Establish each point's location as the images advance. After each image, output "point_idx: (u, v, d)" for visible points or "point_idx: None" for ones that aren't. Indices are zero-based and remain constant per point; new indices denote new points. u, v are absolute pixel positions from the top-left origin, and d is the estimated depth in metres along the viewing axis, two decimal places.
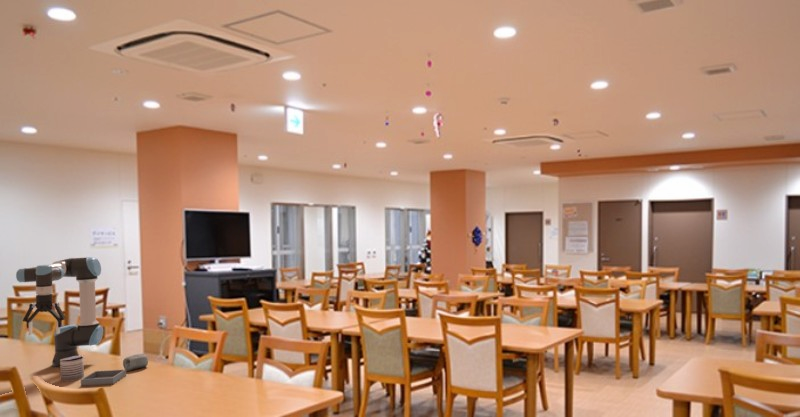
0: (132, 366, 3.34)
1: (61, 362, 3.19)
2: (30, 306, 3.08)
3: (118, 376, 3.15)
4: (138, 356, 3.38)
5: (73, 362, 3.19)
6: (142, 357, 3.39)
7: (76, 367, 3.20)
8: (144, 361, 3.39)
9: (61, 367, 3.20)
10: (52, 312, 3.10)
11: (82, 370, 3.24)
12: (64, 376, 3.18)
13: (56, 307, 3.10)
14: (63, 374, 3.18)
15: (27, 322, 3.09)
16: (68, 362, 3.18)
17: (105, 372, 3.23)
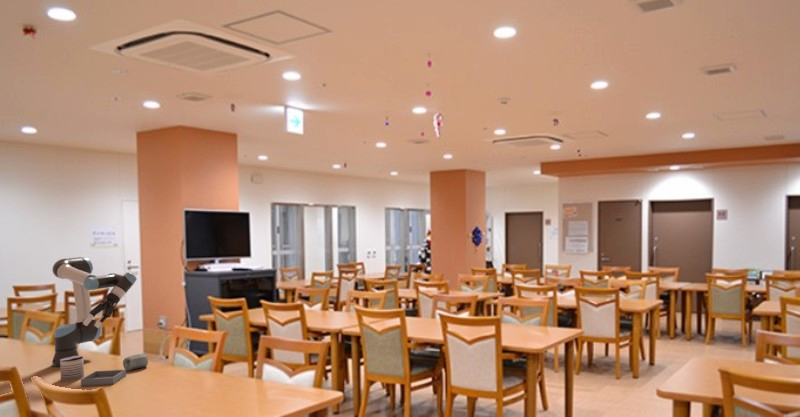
0: (132, 366, 3.34)
1: (61, 362, 3.19)
2: None
3: (118, 376, 3.15)
4: (138, 356, 3.38)
5: (73, 362, 3.19)
6: (142, 357, 3.39)
7: (76, 367, 3.20)
8: (144, 361, 3.39)
9: (61, 366, 3.20)
10: (101, 309, 3.42)
11: (82, 370, 3.24)
12: (64, 376, 3.18)
13: None
14: (63, 374, 3.18)
15: None
16: (68, 362, 3.18)
17: (105, 372, 3.23)
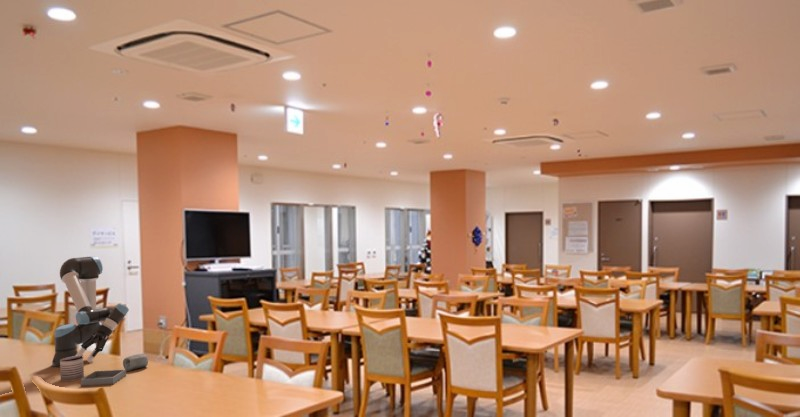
0: (132, 366, 3.34)
1: (61, 362, 3.19)
2: None
3: (118, 376, 3.15)
4: (138, 356, 3.38)
5: (73, 362, 3.19)
6: (142, 357, 3.39)
7: (76, 367, 3.20)
8: (144, 361, 3.39)
9: (60, 366, 3.20)
10: None
11: (82, 370, 3.24)
12: (64, 376, 3.18)
13: None
14: (63, 374, 3.18)
15: None
16: (68, 362, 3.18)
17: (105, 372, 3.23)
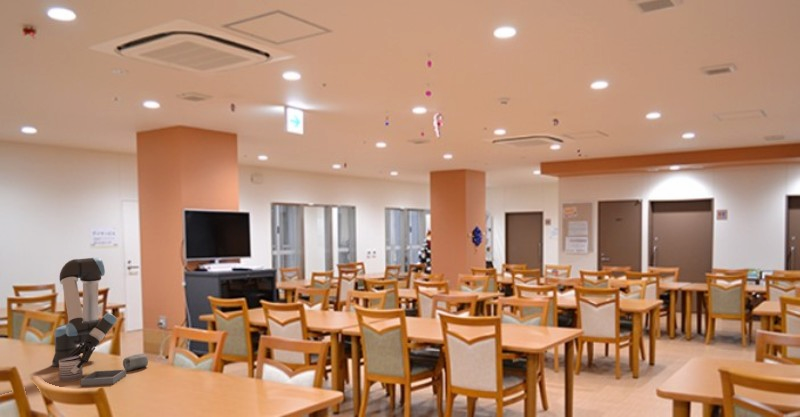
0: (132, 366, 3.34)
1: (60, 362, 3.18)
2: None
3: (118, 376, 3.15)
4: (138, 356, 3.38)
5: (72, 363, 3.19)
6: (142, 357, 3.39)
7: None
8: (144, 361, 3.39)
9: (59, 367, 3.19)
10: None
11: (81, 370, 3.24)
12: (64, 376, 3.17)
13: None
14: (62, 375, 3.17)
15: None
16: (68, 362, 3.17)
17: (105, 372, 3.23)
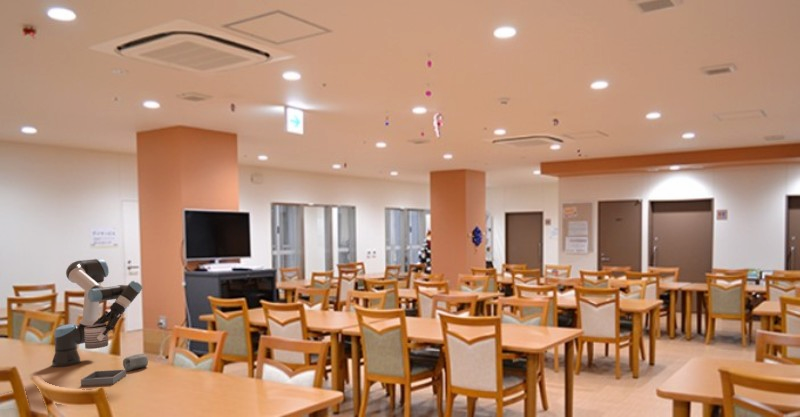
0: (132, 366, 3.34)
1: (86, 329, 3.11)
2: None
3: (118, 376, 3.15)
4: (138, 356, 3.38)
5: (98, 329, 3.11)
6: (142, 357, 3.39)
7: None
8: (144, 361, 3.39)
9: (85, 334, 3.12)
10: None
11: (107, 338, 3.17)
12: (89, 343, 3.10)
13: None
14: (88, 342, 3.10)
15: (108, 330, 3.14)
16: (93, 329, 3.10)
17: (105, 372, 3.23)
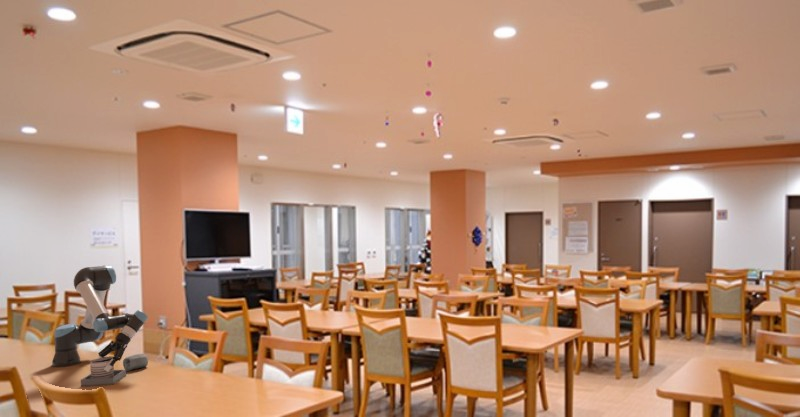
0: (132, 366, 3.34)
1: (92, 363, 3.11)
2: None
3: (118, 376, 3.15)
4: (138, 356, 3.38)
5: (104, 364, 3.11)
6: (142, 357, 3.39)
7: None
8: (144, 361, 3.39)
9: (91, 368, 3.11)
10: None
11: (113, 371, 3.16)
12: (95, 378, 3.10)
13: None
14: (94, 376, 3.10)
15: None
16: (99, 363, 3.10)
17: None
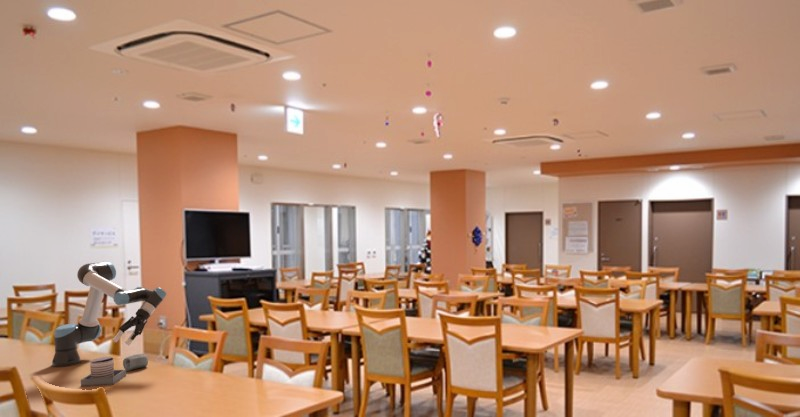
0: (132, 366, 3.34)
1: (92, 363, 3.11)
2: None
3: (118, 376, 3.15)
4: (138, 356, 3.38)
5: (104, 364, 3.11)
6: (142, 357, 3.39)
7: (107, 368, 3.12)
8: (144, 361, 3.39)
9: (91, 368, 3.11)
10: None
11: (113, 371, 3.16)
12: (95, 378, 3.10)
13: None
14: (94, 376, 3.10)
15: (136, 335, 3.24)
16: (100, 363, 3.10)
17: None
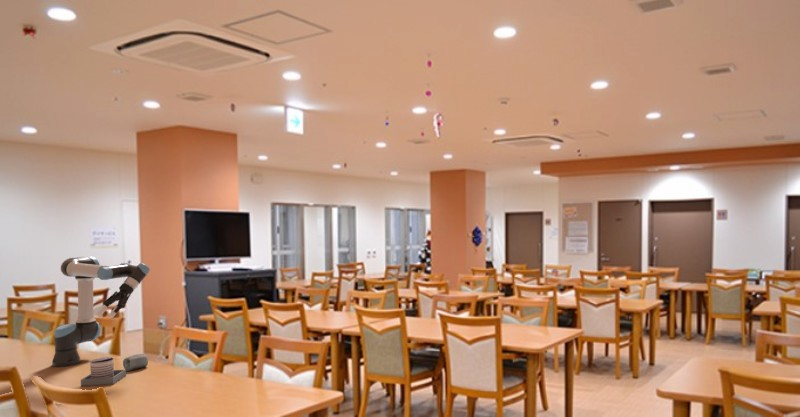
0: (132, 366, 3.34)
1: (92, 363, 3.11)
2: None
3: (118, 376, 3.15)
4: (138, 356, 3.38)
5: (104, 364, 3.11)
6: (142, 357, 3.39)
7: (107, 368, 3.12)
8: (144, 361, 3.39)
9: (91, 368, 3.11)
10: (115, 300, 3.41)
11: (113, 371, 3.16)
12: (95, 378, 3.10)
13: None
14: (94, 376, 3.10)
15: (120, 308, 3.30)
16: (100, 363, 3.10)
17: None
